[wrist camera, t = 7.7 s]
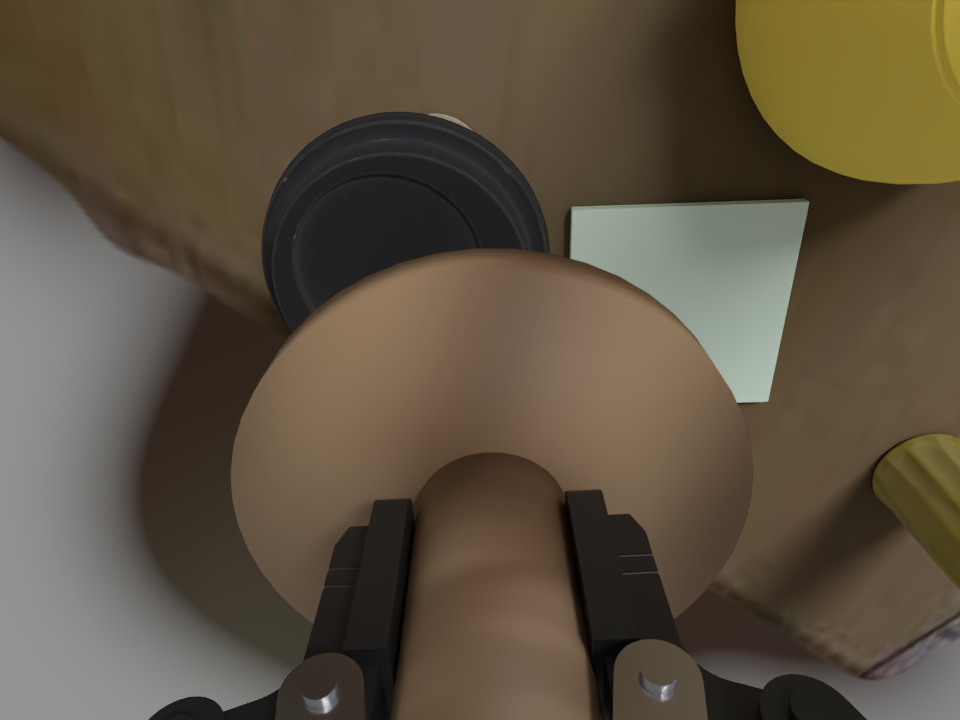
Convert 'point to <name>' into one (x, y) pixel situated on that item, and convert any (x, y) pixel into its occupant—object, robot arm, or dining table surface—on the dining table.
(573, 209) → the mat
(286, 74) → the dining table surface
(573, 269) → the lid
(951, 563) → the vase
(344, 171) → the coffee cup
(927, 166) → the teapot
